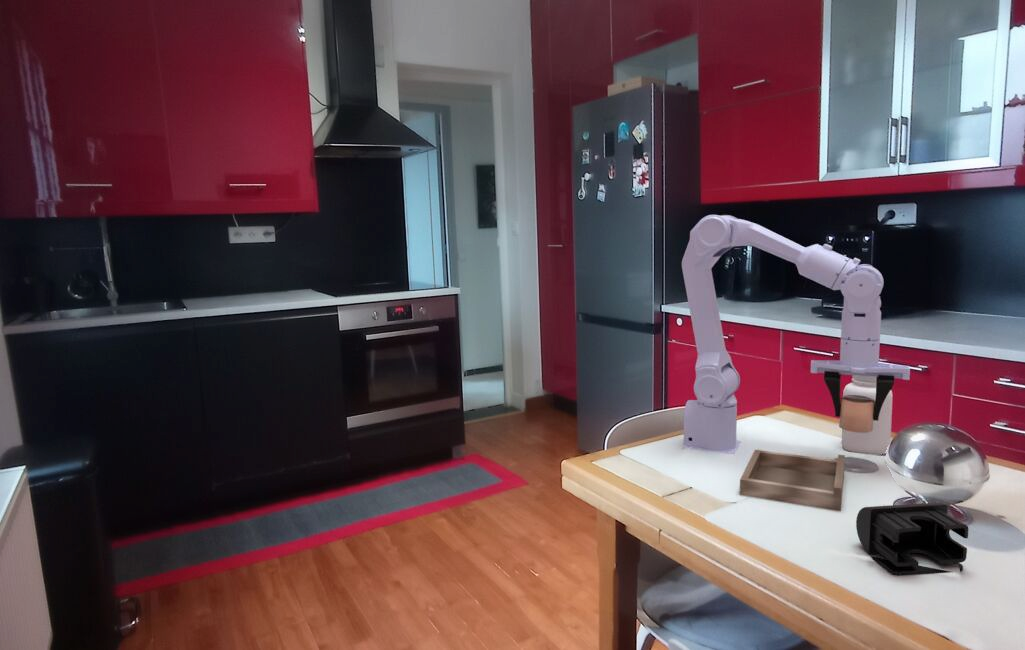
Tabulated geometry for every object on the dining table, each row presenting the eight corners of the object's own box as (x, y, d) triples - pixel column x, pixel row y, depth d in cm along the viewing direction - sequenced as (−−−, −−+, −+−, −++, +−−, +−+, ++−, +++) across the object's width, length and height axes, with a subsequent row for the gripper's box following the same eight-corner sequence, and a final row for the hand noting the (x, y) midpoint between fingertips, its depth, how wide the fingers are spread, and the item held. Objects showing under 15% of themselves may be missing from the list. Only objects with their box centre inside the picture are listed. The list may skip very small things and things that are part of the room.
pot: (836, 429, 107) (838, 399, 106) (842, 421, 110) (844, 392, 110) (870, 434, 104) (872, 404, 103) (874, 426, 107) (876, 396, 107)
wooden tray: (739, 497, 99) (740, 473, 98) (754, 465, 111) (755, 444, 111) (840, 514, 92) (841, 488, 91) (843, 478, 105) (844, 455, 104)
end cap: (927, 543, 83) (930, 494, 82) (969, 571, 76) (973, 518, 75) (853, 548, 82) (856, 499, 81) (889, 577, 75) (892, 523, 74)
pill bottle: (877, 442, 121) (881, 365, 119) (898, 456, 114) (903, 375, 111) (834, 442, 122) (837, 366, 120) (852, 456, 114) (855, 375, 112)
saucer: (831, 472, 107) (831, 467, 107) (833, 459, 113) (833, 454, 113) (878, 478, 104) (878, 474, 104) (878, 464, 110) (878, 460, 110)
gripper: (810, 339, 105) (807, 418, 107) (912, 344, 98) (907, 428, 100) (813, 333, 111) (811, 407, 113) (910, 337, 104) (905, 417, 106)
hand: (856, 417), depth 107 cm, fingers closed on pot, 5 cm apart
